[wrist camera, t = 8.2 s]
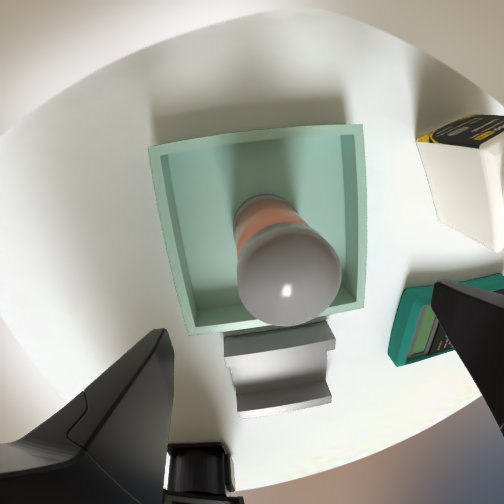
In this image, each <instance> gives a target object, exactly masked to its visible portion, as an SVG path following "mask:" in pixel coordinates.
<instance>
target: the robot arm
mask: <svg viewBox="0 0 504 504" xmlns="http://www.w3.org/2000/svg"><path fill="white" fill-rule="evenodd" d="M431 308H432V310H433V312H434V314H435V316H436V317H437V319H438V321H439V323H440V325H441V327H442V328H443V330H444V332H445V334H446V336H447V338H448V340H449V341H450V343H451V344H452V346H453V348H454V349H455V351H456V352H457V354H458V355H459V357H460V359H461V360H462V362H463V363H464V365H465V367H466V368H467V370H468V372H469V373H470V375H471V376H472V378H473V380H474V382H475V383H476V385H477V387H478V388H479V390H480V392H481V394H482V395H483V397H484V399H485V401H486V403H487V405H488V406H489V408H490V410H491V412H492V414H493V416H494V418H495V420H496V422H497V424H498V425H499V427H500V428H501V429H500V430H501V432H502V434H503V436H504V295H501V294H498V293H494V292H490V291H487V290H483V289H479V288H476V287H472V286H468V285H464V284H460V283H457V282H453V281H449V280H440V281H437V282H435V284H434V286H433V292H432V298H431ZM173 394H174V350H173V347H172V344H171V341H170V338H169V335H168V332H167V330H166V329H164V328H162V329H153V330H152V331H150V332H149V333H148V334H147V335H146V336H145V337H144V338H142V339H141V340H140V341H139V342H138V343H137V344H136V345H134V346H133V347H132V348H131V349H130V350H129V351H127V352H126V353H125V354H124V355H123V356H122V357H121V358H120V359H118V360H117V361H116V362H115V363H114V364H113V365H112V366H110V367H109V368H108V369H107V370H106V371H105V372H104V373H102V374H101V375H100V376H99V377H98V378H97V379H96V380H94V381H93V382H92V383H91V384H90V385H89V386H88V387H86V388H85V389H84V391H82V392H81V393H80V394H78V395H77V396H76V397H75V398H74V399H73V400H72V401H70V402H69V403H68V404H67V405H66V406H64V407H63V408H62V409H61V410H59V411H58V412H57V413H55V414H54V415H53V416H51V417H50V418H49V419H47V420H46V421H45V422H43V423H42V424H40V425H39V426H38V427H36V428H35V429H34V430H32V431H31V432H30V433H28V434H27V435H25V436H24V437H22V438H21V439H19V440H17V441H14V442H11V443H5V444H0V504H244V500H243V497H242V496H238V497H231V496H230V492H234V491H235V478H234V464H233V461H232V459H231V456H230V455H229V454H227V453H226V451H225V448H224V446H223V444H222V443H206V444H179V445H168V436H169V428H170V420H171V412H172V405H173ZM167 452H168V453H169V455H170V466H169V477H168V488H167V490H166V489H163V485H164V474H165V464H166V454H167Z"/></svg>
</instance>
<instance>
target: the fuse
mask: <svg viewBox="0 0 504 504" xmlns="http://www.w3.org/2000/svg"><path fill="white" fill-rule="evenodd" d="M233 237H234V241H235V244H236V250H237V260H238V262H237V270H236V272H237V284H238V292H239V296H240V299H241V301H242V303H243V305H244V306H245V308H246V309H247V310H248V312H249V313H251V314H252V315H253V316H254V317H255V318H257V319H258V320H260V321H262V322H264V323H267V324H270V325H274V326H295V325H299V324H303V323H305V322H308V321H310V320H312V319H314V318H315V317H317V316H319V315H320V314H321V313H323V312H324V311H325V310H326V309H327V308H328V307H329V305H330V304H331V303H332V302H333V300H334V299H335V297H336V295H337V293H338V290H339V288H340V284H341V278H342V269H341V263H340V260H339V257H338V255H337V253H336V251H335V250H334V249H333V247H332V246H331V245H330V244H329V243H328V242H327V241H326V240H325V239H324V238H323V237H322V236H321V235H320V234H319V233H318V232H317V231H316V230H314V229H313V228H311V227H310V226H309V225H308V224H307V223H306V222H305V221H304V220H303V219H302V218H301V217H300V216H299V214H298V212H297V211H296V209H295V208H294V207H293V206H292V205H291V204H290V203H289V202H288V201H287V200H285V199H284V198H282V197H280V196H277V195H274V194H258V195H255V196H253V197H250V198H249V199H247V200H246V201H245V202H243V203H242V204H241V205H240V207H239V208H238V210H237V211H236V213H235V216H234V219H233Z"/></svg>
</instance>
